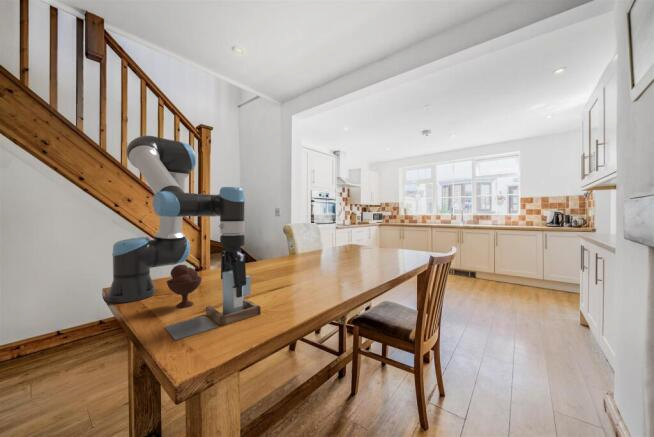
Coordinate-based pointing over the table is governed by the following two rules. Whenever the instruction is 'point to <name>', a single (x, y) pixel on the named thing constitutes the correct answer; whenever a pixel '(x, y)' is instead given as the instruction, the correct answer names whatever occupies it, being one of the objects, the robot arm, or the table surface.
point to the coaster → (190, 327)
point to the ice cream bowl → (184, 283)
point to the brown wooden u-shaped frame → (222, 319)
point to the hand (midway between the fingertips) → (233, 303)
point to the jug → (228, 292)
